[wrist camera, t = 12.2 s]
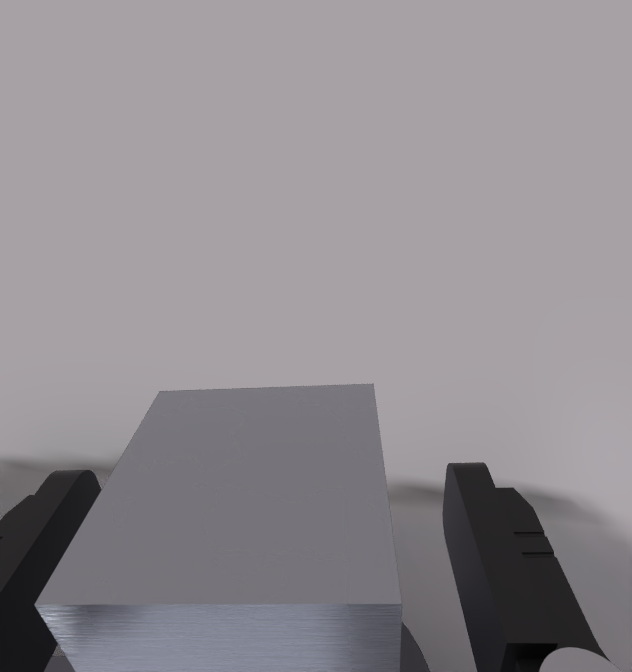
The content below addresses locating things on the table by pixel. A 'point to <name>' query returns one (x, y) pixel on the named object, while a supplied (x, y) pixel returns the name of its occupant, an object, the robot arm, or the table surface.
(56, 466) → the table surface
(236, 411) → the brushed metal block
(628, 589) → the table surface
